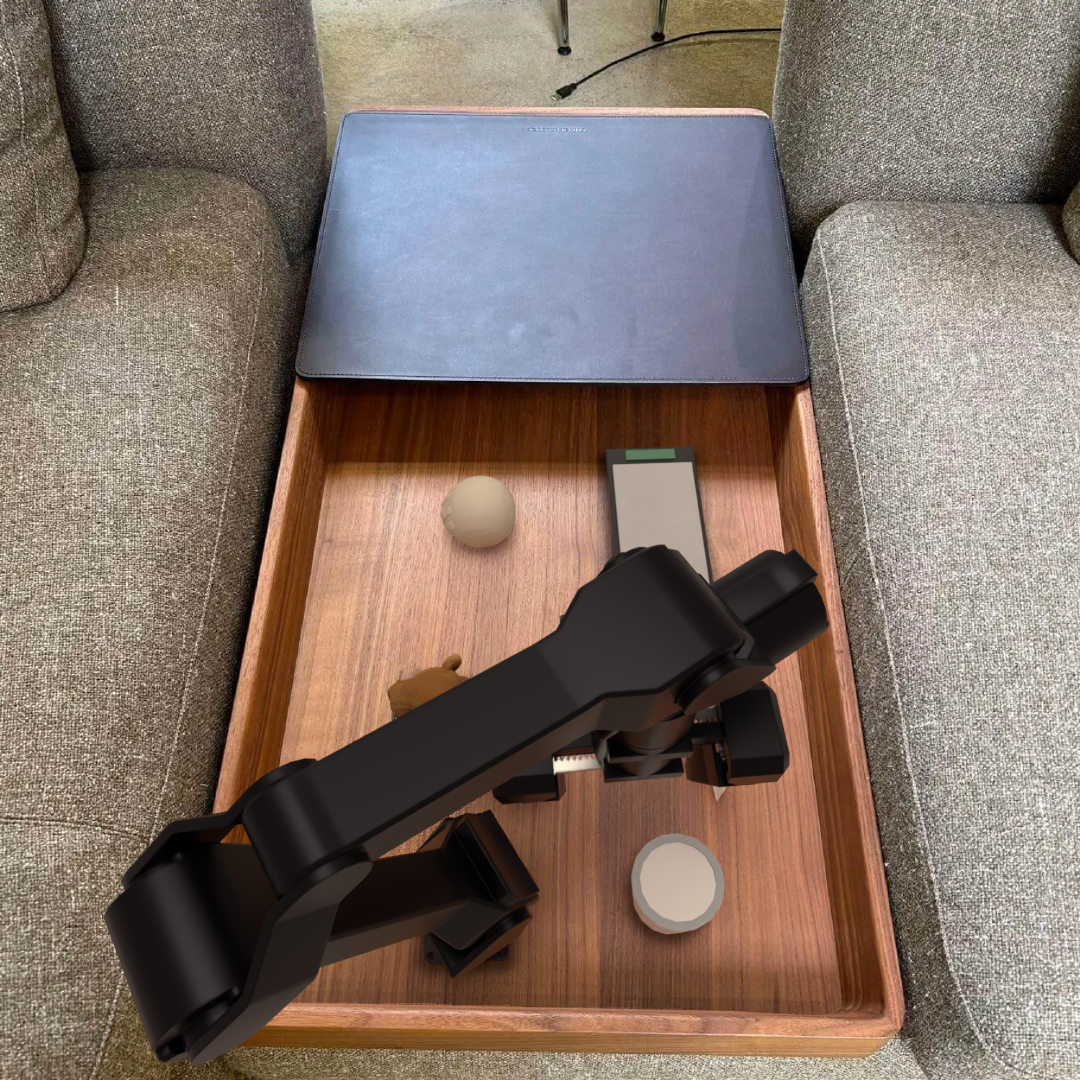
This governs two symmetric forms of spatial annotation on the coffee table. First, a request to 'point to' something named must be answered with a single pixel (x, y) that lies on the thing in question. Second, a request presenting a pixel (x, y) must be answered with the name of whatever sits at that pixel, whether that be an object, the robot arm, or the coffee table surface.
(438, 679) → the stuffed squirrel
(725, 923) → the coffee table surface
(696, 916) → the shot glass
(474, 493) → the beige round ball
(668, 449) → the kitchen scale
